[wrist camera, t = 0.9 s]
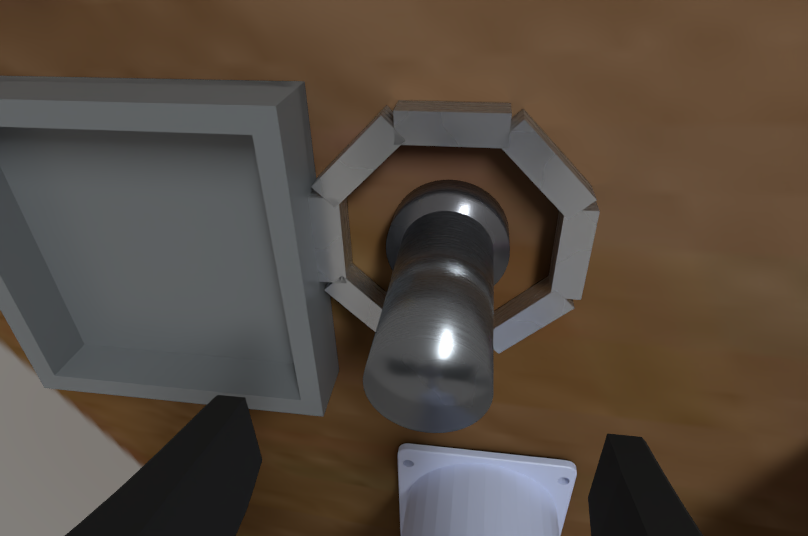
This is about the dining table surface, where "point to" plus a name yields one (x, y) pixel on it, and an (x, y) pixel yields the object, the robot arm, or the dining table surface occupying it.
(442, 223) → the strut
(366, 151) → the seat ring
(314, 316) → the tray
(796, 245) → the dining table surface
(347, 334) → the dining table surface
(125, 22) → the dining table surface
